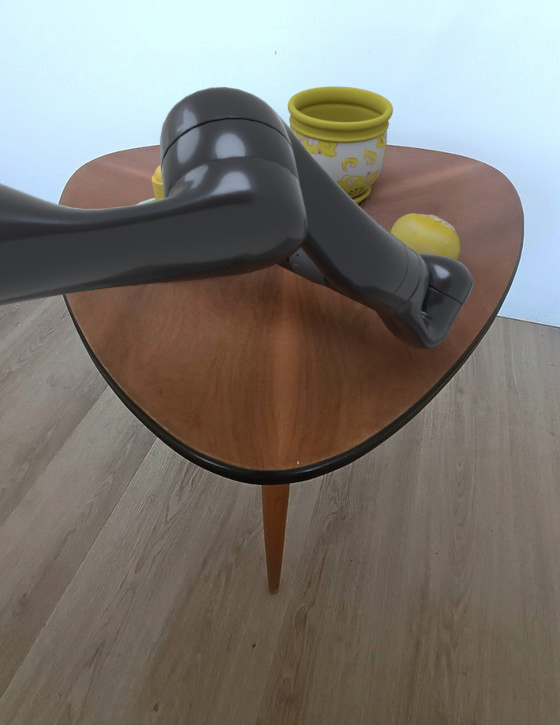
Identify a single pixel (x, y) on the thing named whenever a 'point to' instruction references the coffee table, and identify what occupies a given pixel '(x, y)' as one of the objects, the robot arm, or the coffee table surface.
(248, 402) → the coffee table surface
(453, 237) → the fruit
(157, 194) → the corn cob
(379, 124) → the flowerpot
